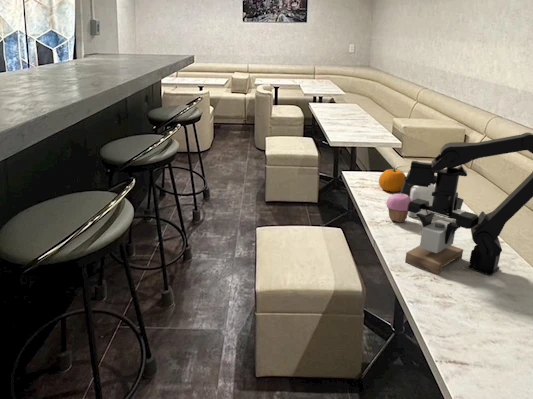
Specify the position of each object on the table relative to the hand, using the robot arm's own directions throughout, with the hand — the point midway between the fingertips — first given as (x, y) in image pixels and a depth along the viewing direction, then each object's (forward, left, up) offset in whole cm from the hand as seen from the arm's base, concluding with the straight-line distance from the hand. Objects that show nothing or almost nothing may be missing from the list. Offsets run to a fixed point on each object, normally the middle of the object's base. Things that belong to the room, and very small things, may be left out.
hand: (437, 240), depth 134 cm
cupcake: (+24, -20, -7) cm, 32 cm away
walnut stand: (0, 0, -6) cm, 6 cm away
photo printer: (+22, -32, -7) cm, 39 cm away
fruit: (+45, -51, -7) cm, 68 cm away
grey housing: (0, 0, -2) cm, 2 cm away
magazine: (+30, -45, -7) cm, 55 cm away
